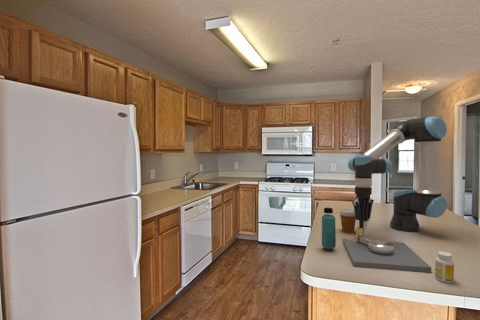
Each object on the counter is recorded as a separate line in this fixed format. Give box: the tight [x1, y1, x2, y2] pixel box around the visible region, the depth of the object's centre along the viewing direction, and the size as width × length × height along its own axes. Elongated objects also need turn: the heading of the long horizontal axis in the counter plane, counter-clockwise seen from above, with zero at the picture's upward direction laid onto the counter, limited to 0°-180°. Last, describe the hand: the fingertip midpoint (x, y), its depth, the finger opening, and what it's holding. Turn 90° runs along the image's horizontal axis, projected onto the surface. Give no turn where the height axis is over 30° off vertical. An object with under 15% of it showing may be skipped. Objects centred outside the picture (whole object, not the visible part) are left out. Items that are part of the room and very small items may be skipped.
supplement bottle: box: [434, 251, 455, 284], centre depth 95 cm, size 5×5×10 cm
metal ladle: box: [354, 226, 394, 255], centre depth 122 cm, size 19×10×7 cm, turn 21°
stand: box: [342, 238, 432, 273], centre depth 118 cm, size 28×28×2 cm
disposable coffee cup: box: [339, 208, 357, 234], centre depth 152 cm, size 10×10×12 cm
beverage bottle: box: [321, 207, 337, 250], centre depth 125 cm, size 6×7×20 cm
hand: (362, 233), depth 129 cm, fingers closed
